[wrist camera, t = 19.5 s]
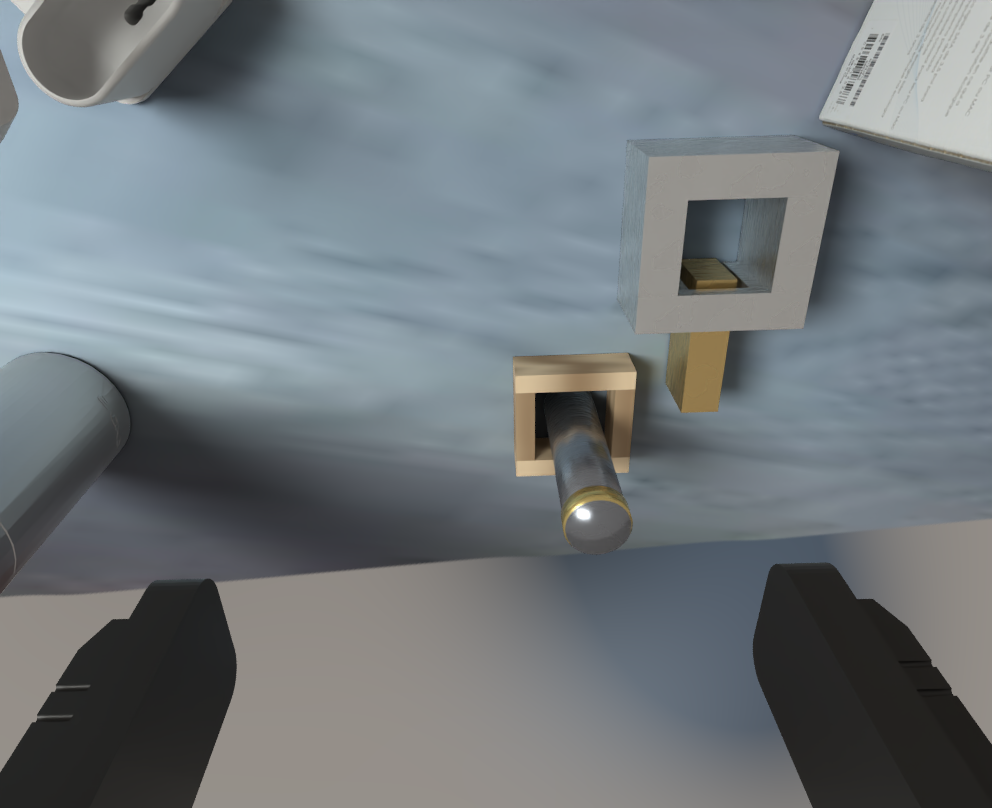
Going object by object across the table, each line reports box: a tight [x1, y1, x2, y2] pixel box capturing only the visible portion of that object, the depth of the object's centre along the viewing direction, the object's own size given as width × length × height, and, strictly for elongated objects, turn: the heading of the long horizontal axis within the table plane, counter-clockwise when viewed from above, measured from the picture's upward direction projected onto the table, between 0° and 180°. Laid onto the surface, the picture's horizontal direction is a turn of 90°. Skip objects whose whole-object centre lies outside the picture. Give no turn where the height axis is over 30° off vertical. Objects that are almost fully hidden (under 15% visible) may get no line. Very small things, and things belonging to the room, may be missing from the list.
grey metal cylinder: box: [544, 391, 633, 554], centre depth 44 cm, size 4×4×14 cm
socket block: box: [617, 135, 840, 334], centre depth 41 cm, size 10×10×6 cm
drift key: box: [665, 258, 737, 413], centre depth 45 cm, size 2×9×4 cm, turn 2°
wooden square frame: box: [513, 353, 637, 476], centre depth 48 cm, size 8×8×3 cm
